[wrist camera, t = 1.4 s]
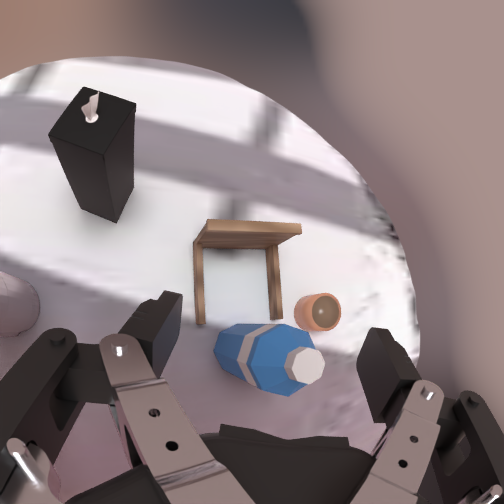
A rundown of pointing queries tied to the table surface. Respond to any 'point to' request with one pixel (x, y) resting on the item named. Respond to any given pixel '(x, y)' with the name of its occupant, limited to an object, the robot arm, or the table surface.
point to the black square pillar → (97, 150)
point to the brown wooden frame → (243, 237)
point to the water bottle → (270, 356)
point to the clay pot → (317, 312)
